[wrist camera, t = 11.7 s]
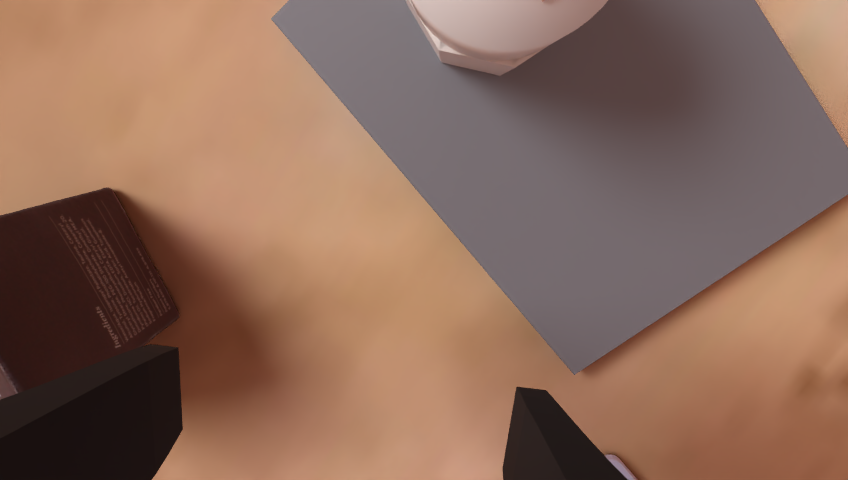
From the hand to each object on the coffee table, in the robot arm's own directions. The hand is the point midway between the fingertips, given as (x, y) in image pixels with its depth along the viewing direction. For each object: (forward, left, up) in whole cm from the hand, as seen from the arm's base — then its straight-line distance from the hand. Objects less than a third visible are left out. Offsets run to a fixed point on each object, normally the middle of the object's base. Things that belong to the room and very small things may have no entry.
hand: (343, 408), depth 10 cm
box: (+8, +10, -10) cm, 16 cm away
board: (+1, -9, -9) cm, 13 cm away
